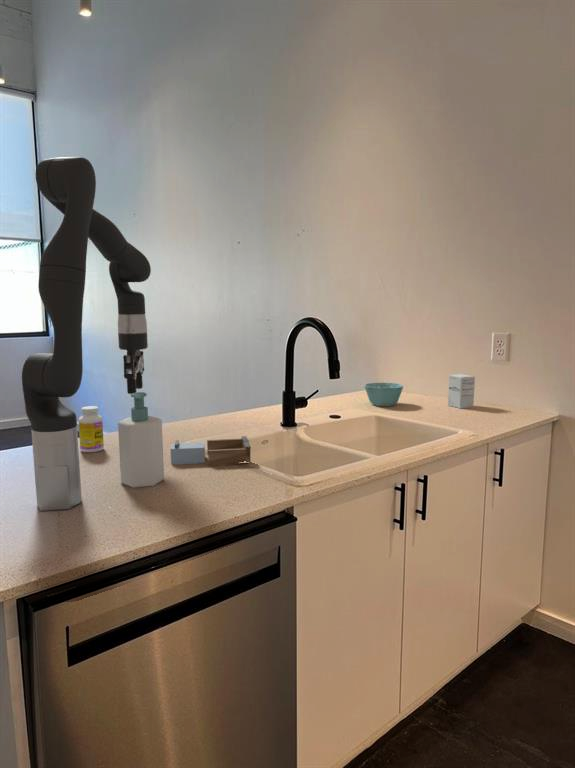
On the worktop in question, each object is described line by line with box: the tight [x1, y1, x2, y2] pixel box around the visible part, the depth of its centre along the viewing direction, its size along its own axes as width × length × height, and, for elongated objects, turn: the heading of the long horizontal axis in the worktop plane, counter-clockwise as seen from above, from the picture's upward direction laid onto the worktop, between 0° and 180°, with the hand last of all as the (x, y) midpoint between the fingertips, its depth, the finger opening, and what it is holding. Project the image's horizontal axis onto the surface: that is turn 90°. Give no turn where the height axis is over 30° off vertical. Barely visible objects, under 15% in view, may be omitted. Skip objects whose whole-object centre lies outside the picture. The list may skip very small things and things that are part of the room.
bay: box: [206, 435, 252, 467], centre depth 161 cm, size 12×11×5 cm
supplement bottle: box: [78, 405, 105, 454], centre depth 169 cm, size 7×7×13 cm
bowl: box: [363, 381, 404, 407], centre depth 236 cm, size 16×16×8 cm
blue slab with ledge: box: [170, 439, 206, 465], centre depth 159 cm, size 6×9×6 cm, turn 98°
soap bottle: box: [117, 391, 165, 489], centre depth 140 cm, size 10×9×22 cm
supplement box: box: [447, 373, 476, 409], centre depth 231 cm, size 7×7×13 cm
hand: (135, 390), depth 157 cm, fingers open, 8 cm apart
